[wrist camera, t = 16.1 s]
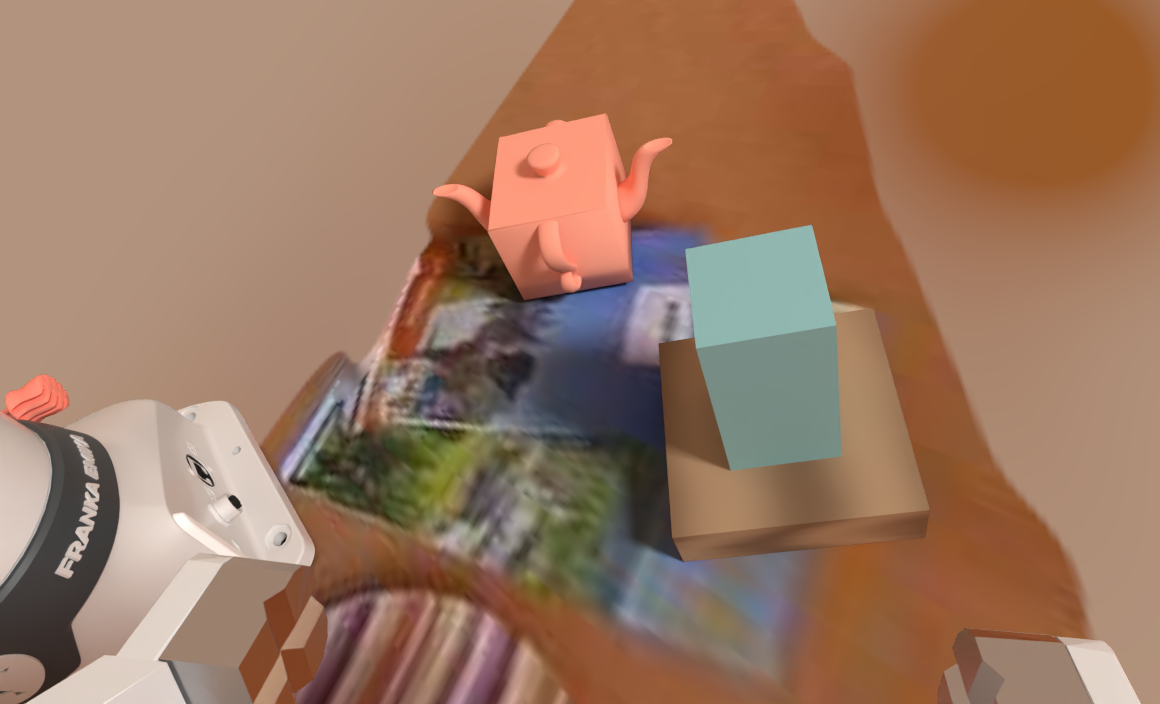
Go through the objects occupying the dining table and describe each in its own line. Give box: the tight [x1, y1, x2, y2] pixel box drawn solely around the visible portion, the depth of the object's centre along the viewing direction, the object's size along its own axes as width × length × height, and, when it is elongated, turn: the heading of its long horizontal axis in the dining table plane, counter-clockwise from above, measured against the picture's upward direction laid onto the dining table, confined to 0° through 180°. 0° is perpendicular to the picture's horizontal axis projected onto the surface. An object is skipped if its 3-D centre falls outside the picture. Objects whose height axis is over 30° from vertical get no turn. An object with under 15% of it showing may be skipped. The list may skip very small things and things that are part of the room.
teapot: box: [432, 114, 672, 300], centre depth 49 cm, size 12×15×8 cm
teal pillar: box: [685, 225, 842, 471], centre depth 34 cm, size 5×5×10 cm
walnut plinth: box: [659, 308, 930, 562], centre depth 39 cm, size 11×11×3 cm
